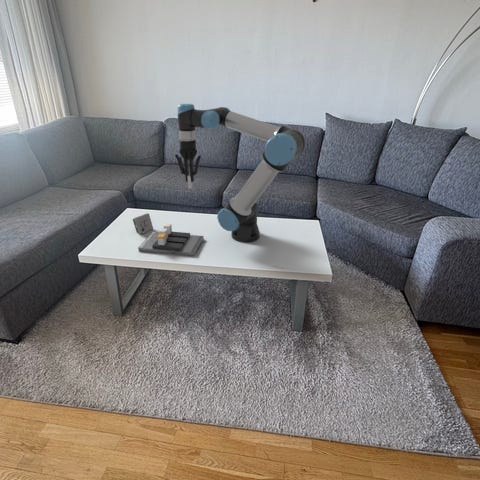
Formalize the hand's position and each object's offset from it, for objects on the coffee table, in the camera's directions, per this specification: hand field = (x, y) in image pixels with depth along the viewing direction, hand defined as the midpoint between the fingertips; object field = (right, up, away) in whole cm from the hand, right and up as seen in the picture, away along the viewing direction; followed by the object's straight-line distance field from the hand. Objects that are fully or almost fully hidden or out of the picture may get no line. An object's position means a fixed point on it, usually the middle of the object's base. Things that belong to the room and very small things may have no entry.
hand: (190, 187), depth 165 cm
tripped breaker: (-13, -28, -5) cm, 31 cm away
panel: (-9, -29, +2) cm, 30 cm away
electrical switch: (-28, -21, +16) cm, 39 cm away
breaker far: (-12, -22, +6) cm, 26 cm away
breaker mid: (-13, -25, 0) cm, 28 cm away
